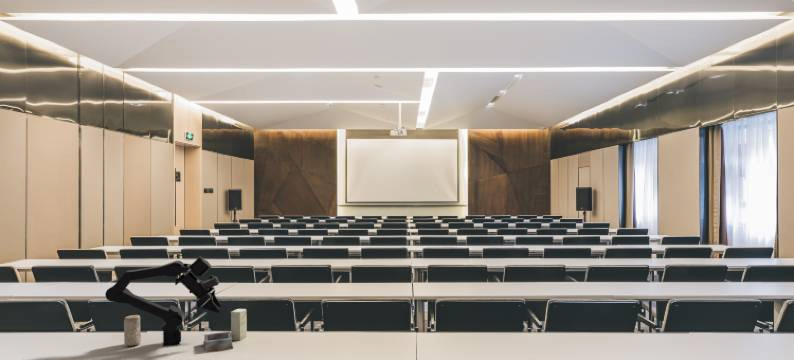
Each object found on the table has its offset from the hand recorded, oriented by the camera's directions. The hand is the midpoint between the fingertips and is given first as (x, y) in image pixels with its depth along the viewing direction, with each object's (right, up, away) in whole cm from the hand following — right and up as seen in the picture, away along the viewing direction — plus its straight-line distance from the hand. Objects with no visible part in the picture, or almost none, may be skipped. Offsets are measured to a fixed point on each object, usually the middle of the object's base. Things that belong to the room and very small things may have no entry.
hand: (219, 309), depth 222 cm
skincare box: (+7, -13, +3) cm, 16 cm away
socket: (+2, -13, -8) cm, 16 cm away
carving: (-34, -14, -7) cm, 37 cm away
